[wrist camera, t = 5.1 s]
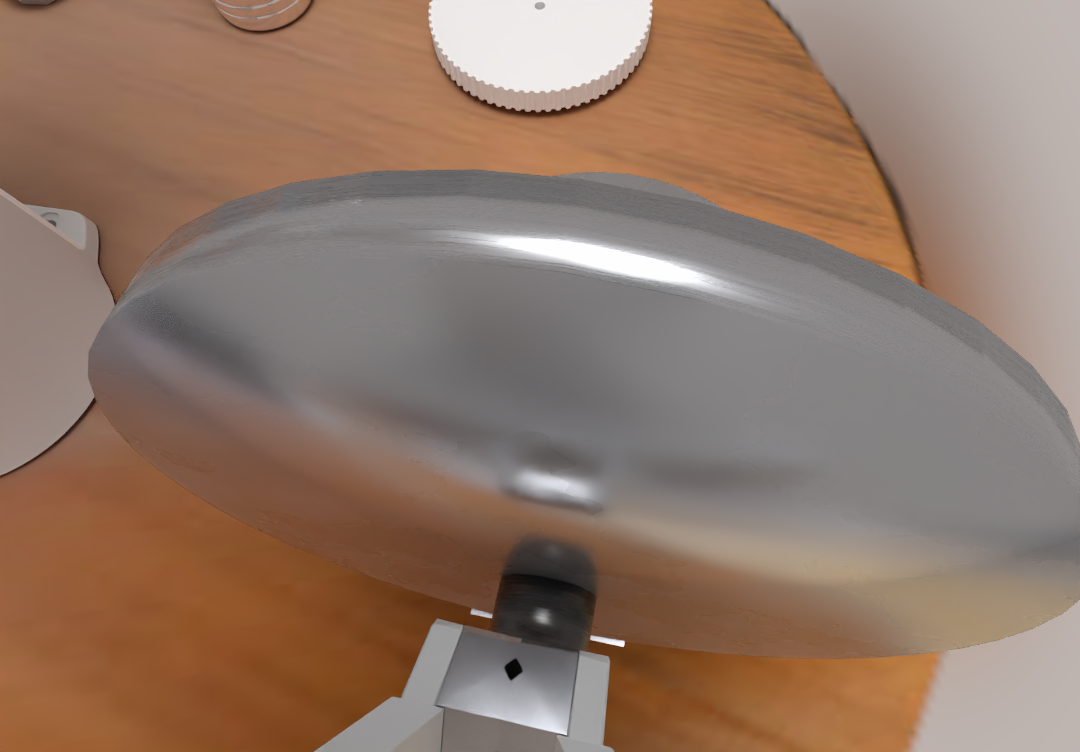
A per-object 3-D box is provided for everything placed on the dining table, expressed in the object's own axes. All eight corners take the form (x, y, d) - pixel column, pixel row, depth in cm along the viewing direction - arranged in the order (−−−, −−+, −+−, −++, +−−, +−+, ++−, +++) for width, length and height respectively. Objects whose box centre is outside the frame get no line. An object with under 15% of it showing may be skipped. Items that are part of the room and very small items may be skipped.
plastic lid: (572, -63, 47) (572, -100, 44) (690, 60, 42) (698, 27, 40) (399, 19, 44) (389, -15, 42) (505, 159, 40) (501, 129, 37)
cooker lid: (304, 535, 22) (270, 622, 20) (-177, 71, 7) (-414, 262, 6) (825, 644, 20) (827, 747, 19) (1591, 323, 5) (1869, 687, 4)
